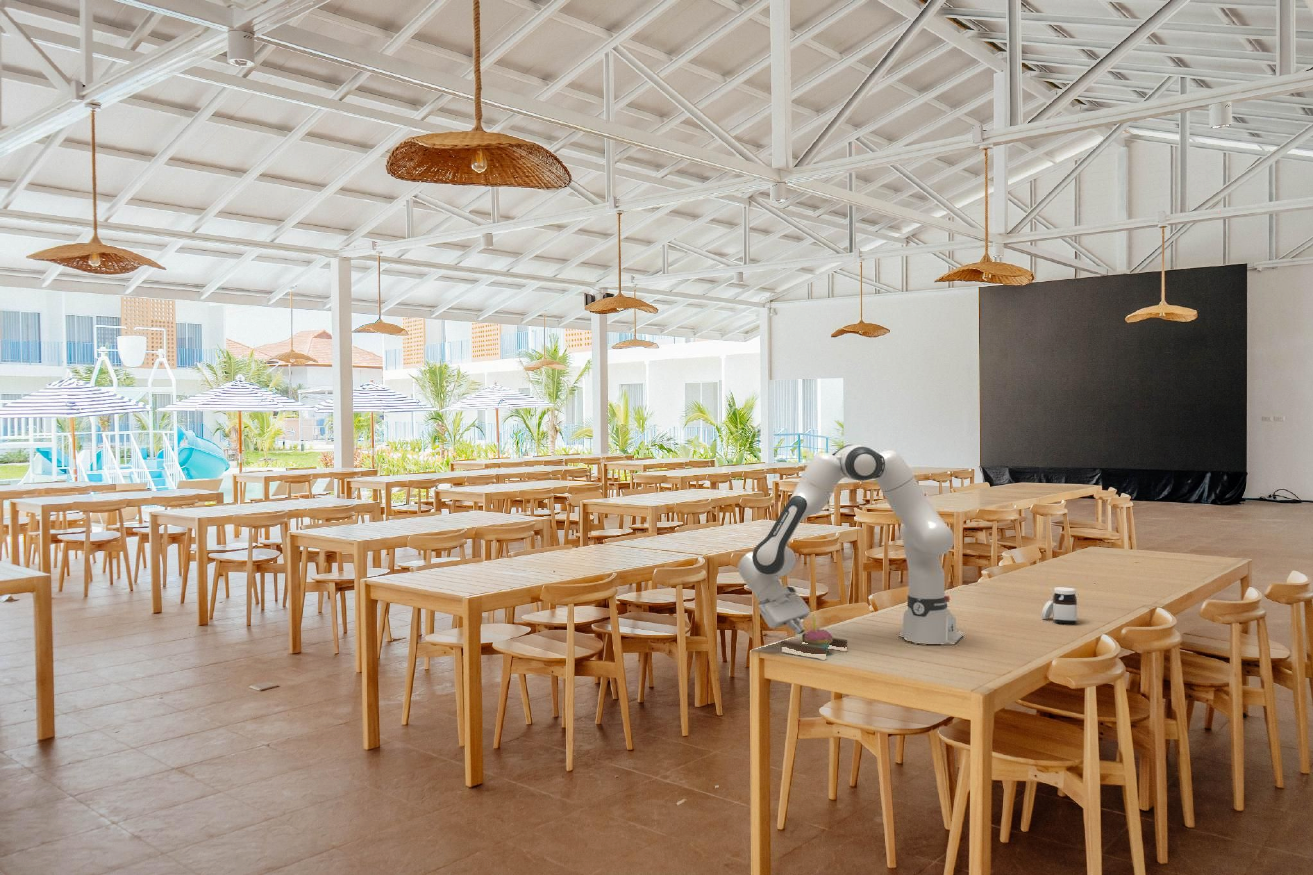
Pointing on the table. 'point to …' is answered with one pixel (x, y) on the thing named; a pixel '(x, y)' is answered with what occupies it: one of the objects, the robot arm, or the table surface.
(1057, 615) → the spread jar
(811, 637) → the cupcake
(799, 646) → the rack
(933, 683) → the table surface
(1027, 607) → the table surface
